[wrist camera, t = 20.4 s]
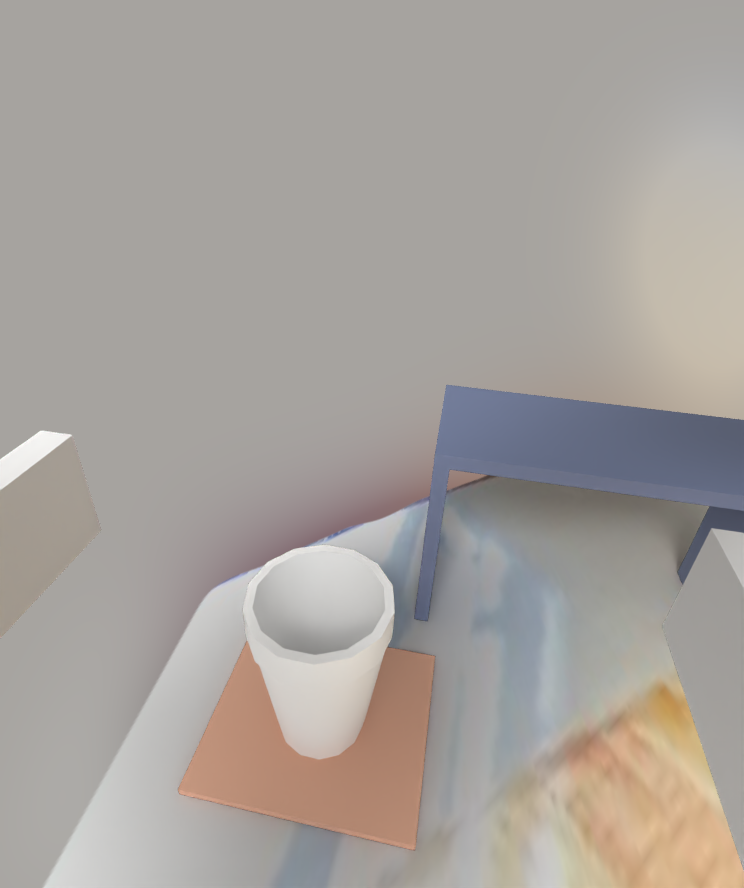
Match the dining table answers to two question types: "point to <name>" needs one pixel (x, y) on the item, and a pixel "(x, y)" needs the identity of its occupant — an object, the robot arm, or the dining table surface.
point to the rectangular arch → (587, 457)
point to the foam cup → (319, 642)
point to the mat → (321, 780)
